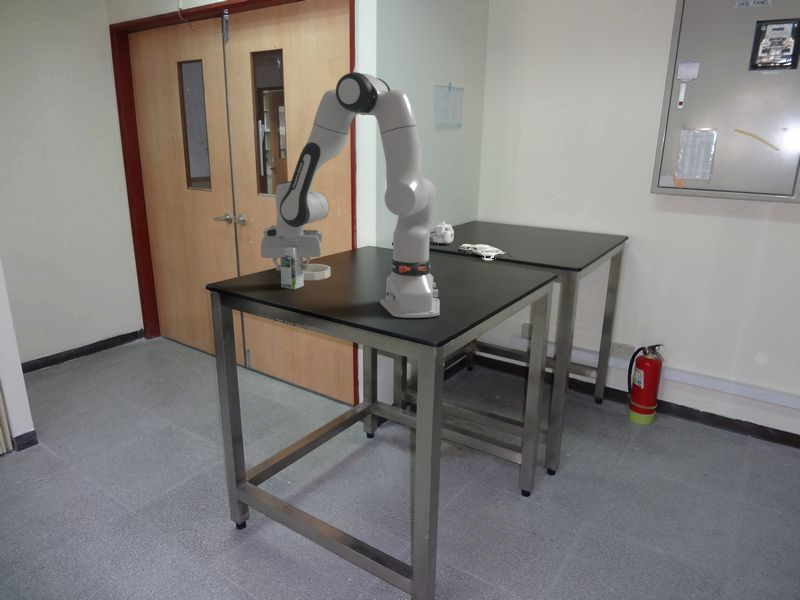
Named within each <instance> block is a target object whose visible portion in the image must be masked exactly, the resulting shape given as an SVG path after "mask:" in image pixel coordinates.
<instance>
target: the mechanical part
mask: <svg viewBox="0 0 800 600" xmlns="http://www.w3.org/2000/svg"><path fill="white" fill-rule="evenodd" d="M454 230H455V229H453V227H452V224H450V223H449V224H447V223H446V221H445V220H443V221H442V222H438V224H436V228H434V229H433V233H430V237H429V239H430V238H431V239H432V242H433V243H434V242H435V243H436V242H437V243H438V244H439V243H440V244H444V243H446V244H451V243H453V241H454V234H455V231H454ZM437 243H436V244H437Z"/></svg>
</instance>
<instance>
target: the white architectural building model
mask: <svg viewBox="0 0 800 600" xmlns="http://www.w3.org/2000/svg"><path fill="white" fill-rule="evenodd" d="M460 247H462V248H460ZM460 247H459V249H460V250H462V249H463V250H472V251H473V252H477V253H479V254H481V255H483V256H484V258H483V257H482V258H481V259H482V260H483V261H488V262H492V261H493V260H494V259H492V258H494V256H495V255H497V254H504V253H505V252H504V251H502V250H501V249H499V248H497V247H495V246H490V245H488V244H479V243H478V244H472V243H471V244H470V243H465V244H461V246H460ZM463 247H464V248H465V249H464V248H463ZM467 247H470V248H468V249H467ZM475 248H477V249H475ZM486 256H491V257H490V258H486Z"/></svg>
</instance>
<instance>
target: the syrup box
mask: <svg viewBox="0 0 800 600" xmlns="http://www.w3.org/2000/svg"><path fill="white" fill-rule="evenodd" d="M279 259H280V261H279V263H280V265H281V270H280V283H281V284H280V285H281V288H284V287H285V289H290V290H296V289H299V288H301V287H304V285H305V282H304V281H305V280H304V278H303V264H304V257H298V252H297V247H285V248H284V257H283V258H279Z"/></svg>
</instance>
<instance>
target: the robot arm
mask: <svg viewBox="0 0 800 600" xmlns="http://www.w3.org/2000/svg"><path fill="white" fill-rule="evenodd" d="M357 115H362V116H374V117H375V118H376V120H377V124H378V128H379V134H380V138H381V143H382V149H383V154H384V159H385V169H386V170H385V172H386V174H385V175H386V178H385V179H386V190H385V193H384V203H385V206H386V208H387V210H389V211H388V212H390V213H392V214H393V215H395V216H397V222H396V226H395V229H394V231H393V239H392V241H393V243H392V246H393V248H392V249H393V250H392V251H393V252H392V253H393V254H392V259H391V274H389V276H387V277H386V288H385V291H386V292H385V298H384V299H381V300H380V305H381V306H382V307H383V308H384V309H385V310H386V311H387V312H388V313H389V314H390V315H392V316H393V317H396V318H405V319H407V318H409V319H410V318H411V319H412V318H413V319H419V318H433V317H438V316H440V309H441V307H440V304H441V303H440V301H441V300H440V299H439V298H438V297H439V289H434V288H436V287H437V283H436V282H434V276H433V275H432V274H431V260H430V234H431V227H432V221H433V219H434V218H433V217H434V212H435V211H434V210H435V204H436V203H435V202H436V200H437V197H438V192H437V191H438V190H437V188H436V185H435V184H434V183H433V181H431V180H430V179H428V178H426V177H424V176H422V157H423V149H422V144H421V140H420V135H419V129H418V128H419V127H418V124H417V119H416V115H415V112H414V109H413V106H412V103H411V100H410V98H409V96H408V95H407V93H405V92H404V91H401V90H397V89H395V90H394V89H393V90H392V89H391V88H390V86H389V85H388V83H387V82H385V81H384V80H383V79H381V78H379V77H378V78H377V77H375V76H373V75H371V74H368V73H360V72H357V71H356V72H354V71H353V72H349V73H347V74H344V75H342V76H341V78H339V80H338V81H337V84H336V87H335V89H330V90H327V91H325V92H324V94H323V95H322V97H321V99H320V102H319V104H318V107H317V110H316V113H315V116H314V120H313V122H312V128H311V131H310V134H309V137H308V139H307V141H306V143H305V145H304V146H303V148H302V151H301V153H300V154H299V158H298V160H297V163H296V166H295V168H294V172H293V174H292V178H291V180H290V181H288V180H287V181H283V182H280V183H278V184H277V186H276V189H275V190H276V191H275V209H276V213H277V217H276V224H275V225H271V226H269V227H266V228H265V229H264V230H263V237H262V239H261V243H260V256H261V257H262V258H263V259H270V258H272V262H273V264H274V265H275V267H276V271H280V272H281V264H279V263H278V258H279V259H280V258H283V257H284V248H285V247H297V252H298V257H303V258H305V260H306V262H305V263H303V270H307V265H308V264H310V262H311V258H319V257H321V255H322V247H321V243H322V241H323V235H322V233H321V232H320V231H319V230H317V229H305V228H304V225H307V224H312V223H315V222H319V221H321V220H324V219H325V218H326V217H327V216H328V215H329V211H330V205H329V200H328V199H327V197H326V196H325V195H324V194H322V193H321V192H317V191H314V190H312V189H311V188H312V186H313V183H314V181H315V177H316V174H317V173H318V171H319V170H320V169H321V167H322V166H323V165H325V164H326V163H328V162H329V161H330V160H332V159H334V158H336V157H338V156H339V155H341V153H342V152H343V150H344V148H345V146H346V143H347V140H348V137H349V133H350V129H351V125H352V122H353V119H354V118H355V117H356V116H357Z"/></svg>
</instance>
